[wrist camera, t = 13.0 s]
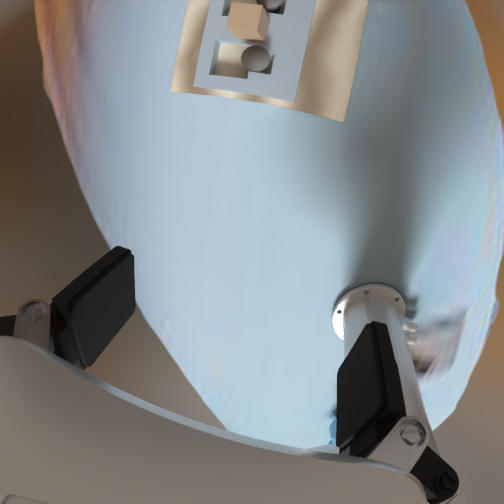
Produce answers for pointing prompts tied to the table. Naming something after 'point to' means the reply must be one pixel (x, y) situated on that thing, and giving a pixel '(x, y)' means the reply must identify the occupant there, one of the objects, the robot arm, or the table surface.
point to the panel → (261, 34)
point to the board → (258, 59)
